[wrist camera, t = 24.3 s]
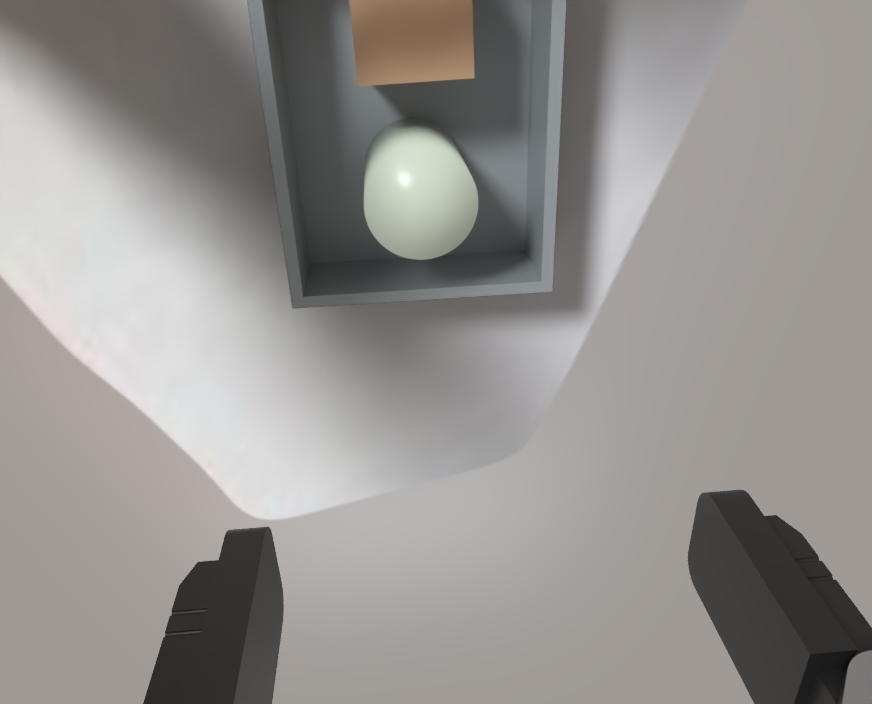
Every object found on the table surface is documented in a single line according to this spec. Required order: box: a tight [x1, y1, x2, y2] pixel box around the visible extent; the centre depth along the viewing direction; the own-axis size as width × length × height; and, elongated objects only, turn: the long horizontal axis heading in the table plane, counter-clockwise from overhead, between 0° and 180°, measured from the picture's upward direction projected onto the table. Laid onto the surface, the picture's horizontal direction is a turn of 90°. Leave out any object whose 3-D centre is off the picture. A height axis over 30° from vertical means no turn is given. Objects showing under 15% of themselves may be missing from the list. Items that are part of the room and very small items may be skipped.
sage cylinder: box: [364, 118, 478, 260], centre depth 34 cm, size 5×5×7 cm
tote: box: [247, 0, 566, 308], centre depth 34 cm, size 13×17×5 cm
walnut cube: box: [349, 0, 475, 86], centre depth 31 cm, size 5×5×5 cm
